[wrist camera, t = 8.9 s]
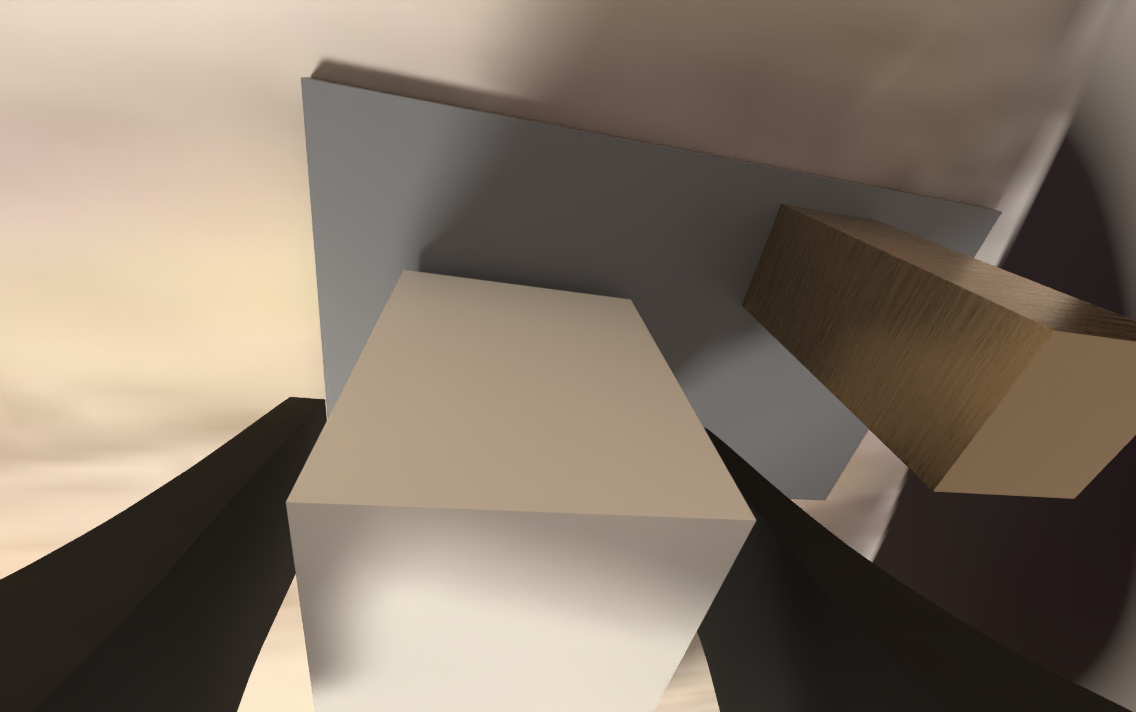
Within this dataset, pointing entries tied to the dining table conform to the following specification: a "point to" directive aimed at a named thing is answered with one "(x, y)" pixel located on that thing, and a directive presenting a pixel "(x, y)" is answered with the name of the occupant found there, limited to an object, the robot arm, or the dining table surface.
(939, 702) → the robot arm
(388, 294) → the base board
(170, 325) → the dining table surface
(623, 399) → the beige block
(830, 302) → the bronze post
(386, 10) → the dining table surface
